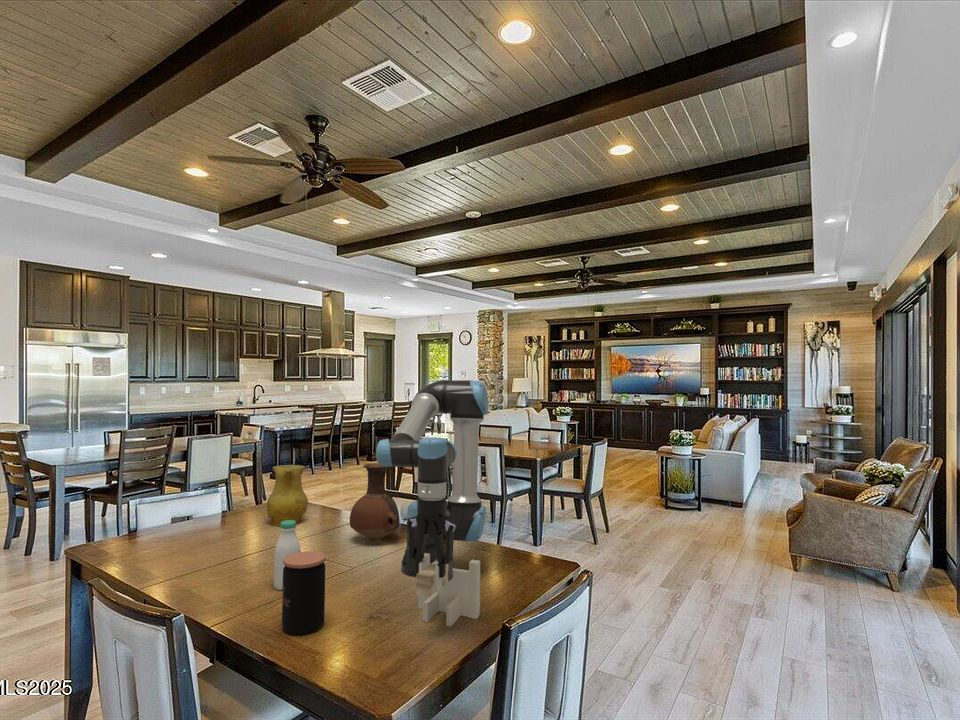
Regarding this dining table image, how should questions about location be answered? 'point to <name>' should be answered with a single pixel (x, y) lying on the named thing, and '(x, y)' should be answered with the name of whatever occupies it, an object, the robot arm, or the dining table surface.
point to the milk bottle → (284, 550)
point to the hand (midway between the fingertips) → (430, 587)
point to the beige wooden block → (431, 579)
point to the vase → (375, 507)
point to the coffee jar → (303, 592)
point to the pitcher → (287, 495)
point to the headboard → (454, 595)
